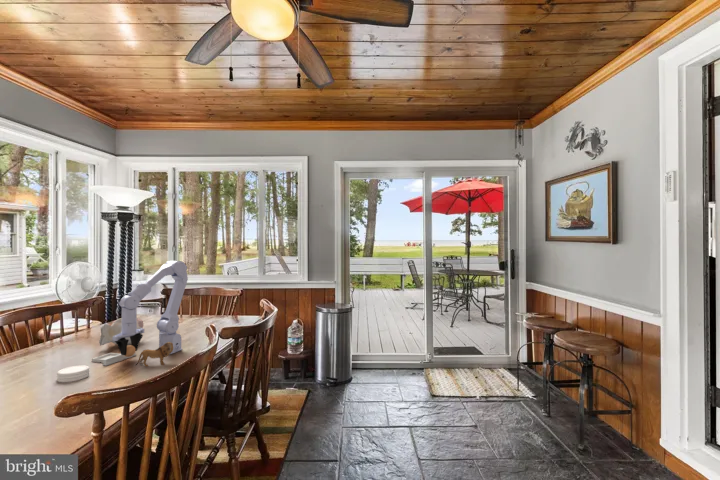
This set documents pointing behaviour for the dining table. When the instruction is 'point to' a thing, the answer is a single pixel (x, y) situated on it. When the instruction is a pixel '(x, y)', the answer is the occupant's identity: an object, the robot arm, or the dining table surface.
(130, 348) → the ball
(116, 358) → the white picture ledge
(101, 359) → the tray
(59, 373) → the coaster
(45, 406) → the dining table surface
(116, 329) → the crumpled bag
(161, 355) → the lion figurine
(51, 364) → the dining table surface
